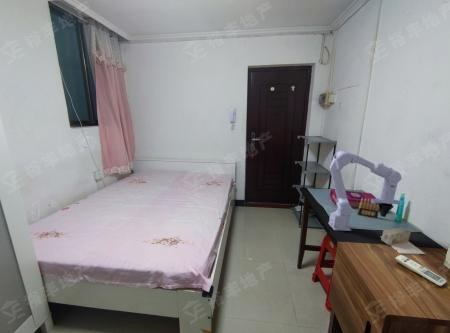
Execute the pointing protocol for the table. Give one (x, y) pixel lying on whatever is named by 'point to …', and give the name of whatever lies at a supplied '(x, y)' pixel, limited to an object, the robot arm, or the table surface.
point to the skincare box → (395, 236)
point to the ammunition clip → (368, 209)
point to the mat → (406, 248)
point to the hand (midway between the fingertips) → (382, 216)
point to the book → (353, 198)
